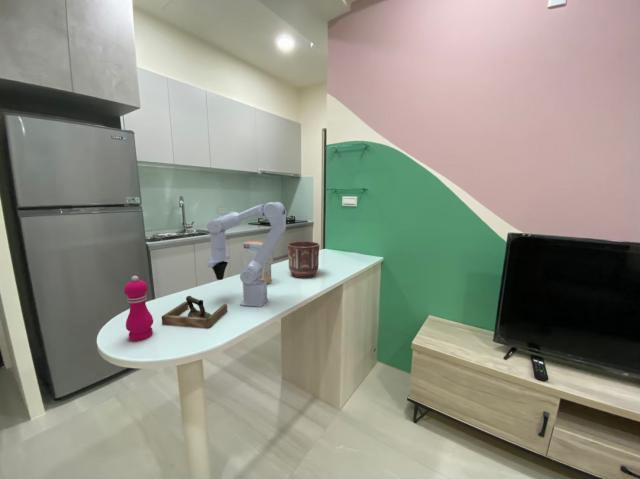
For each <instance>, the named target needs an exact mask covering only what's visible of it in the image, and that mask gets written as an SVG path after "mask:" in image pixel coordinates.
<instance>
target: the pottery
mask: <svg viewBox="0 0 640 479" xmlns="http://www.w3.org/2000/svg"><path fill="white" fill-rule="evenodd" d="M286 246H287V253H288V254H287V255H288V269H289V271H290V273H291V275H292V276H294V277H295V278H297V279H299V278H300V279H307V278H312V276H313V277H314V276H315V275H316V274H317V273H318V270H319V265H320V264H319V257H320V256H319V255H320V243H319V242H315V241H292V242H289V243H287V245H286Z"/></svg>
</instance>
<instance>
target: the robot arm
mask: <svg viewBox="0 0 640 479" xmlns="http://www.w3.org/2000/svg"><path fill="white" fill-rule="evenodd" d="M256 216H261V217H265V218H266V220H268V222H269V224H270V227H271V229H270V230H269V232H268V234H267V236H266V237H265V238H264V240H263V241H262V242H263V244H262V245H261V247H260V249H259V251H258V252H257V254H256V256H255V257H254V259H253V260H252V262H251V263H250V264H249V265H248V267H247V268H246V269H243V270H242V271H241V272H240V275H239V279H240V281H241V282H242V294H243V295H242V297H243V301H241V302H240V303H239V305H240V306H245V307H260V308H261V307H263V306H264V305H265V303H266V302H267V301H268V286H267V285H268V284H266V283H263V282H261V280H260V276H261V275H262V270H263V267H264V264H265V262H266V261H267V259H268V257H269V256H270V254H271V255H272V252H273V251H274V249H275V247H276V245H277V244H278V243H279V241H280V239H281V237H283V234H284V233H285V231H286V228H287V224H286V223H287V210H286V208H285V205H284V204H283V203H282V202H281V201H274V202H271V201H269V202H266V203H262V204H259V205H258V204H257V205H256V206H253V207H251V208H248V209H246V210H244V211H241V212H237V211H232V210H231V211H229V212H228V213H227V214H225V215H220V216H218V217H217V218H212V219H210V220H209V221H208V222H207V223H206V228H207V231H208V232H209V236H210V252H211V253H210V254H211V257H209V258H208V260H209V261H207V262H206V264H207V267H208V268H211V269H212V271H213V272H214V274H215V278H216V280H218V281H222V280H224V278H225V276H224V275H225V271H226V268H227V266H228V264H229V262H228V261H227V260H229V259H230V254H227V248H226V246H227V244H226V231H227V230H230V229H233V228H236V227H238V226H240V225H241V224H242V223H243V221H245V220H248V219H250V218H254V217H256Z"/></svg>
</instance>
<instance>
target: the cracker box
mask: <svg viewBox="0 0 640 479" xmlns="http://www.w3.org/2000/svg"><path fill="white" fill-rule="evenodd" d="M263 242H264V241H262V242H261V241H253V240H249V241H244V242H243V262H244V264H243V265H244V266H243V267H244V269H243V270H245V269H246V268H247V267H248V265H249V264H250V263H251V262H252V260H253V259H254V257H255V256H256V254H257V252H258V251H259V249H260V247H261V245H262V244H263ZM260 280H261V282H263V283H266V284H267V285H269V284H271V283H272V253H271V254H270V256H269V257H268V259H267V261H266V262H265V264H264V267H263V270H262V275H261V276H260Z"/></svg>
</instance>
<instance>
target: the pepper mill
mask: <svg viewBox="0 0 640 479" xmlns="http://www.w3.org/2000/svg"><path fill="white" fill-rule="evenodd" d="M148 288H149V287H148V284H147V283H146V282H145V281H144V280H142V279H139V276H137V275H133V276H131V281H129V282H126V284H125V285H124V289H123V292H124V294H125V295H126V297H127V298H126V299H127V300H126V301H127V303H128V304H129V312H128V316H127V319H126V321H125V328H126V330H127V331H128V339H129V341H131V342H138V341H139V342H140V341H144V340H146V339H149V338H150V337H151V336H153V328H152V325H153V324H154V318H153V315H152V313H151V312H150V311H149V309H148V307H147V304H146V300H147V299H148V297H147V294H146V293H147V292H148Z"/></svg>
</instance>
